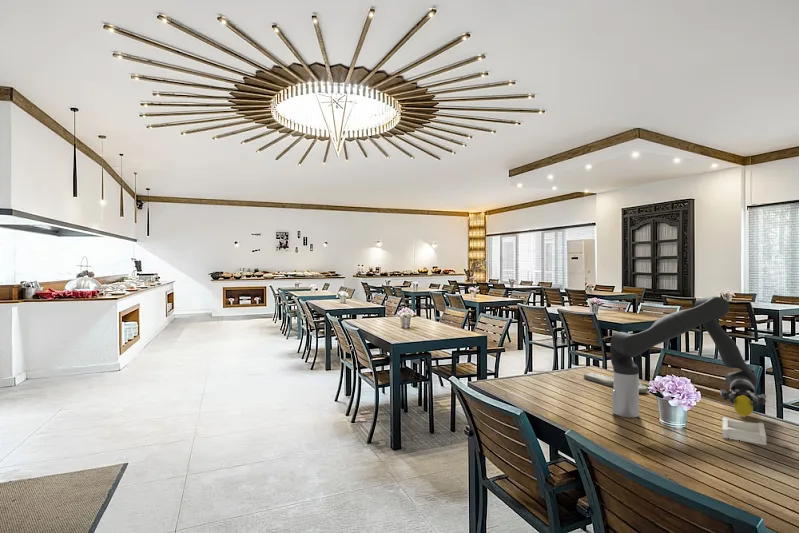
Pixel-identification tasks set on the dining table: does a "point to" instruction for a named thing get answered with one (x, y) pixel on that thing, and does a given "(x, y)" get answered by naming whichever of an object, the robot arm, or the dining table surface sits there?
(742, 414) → the lemon
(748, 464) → the dining table surface
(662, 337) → the robot arm
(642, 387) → the elongated rock
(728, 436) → the tray
